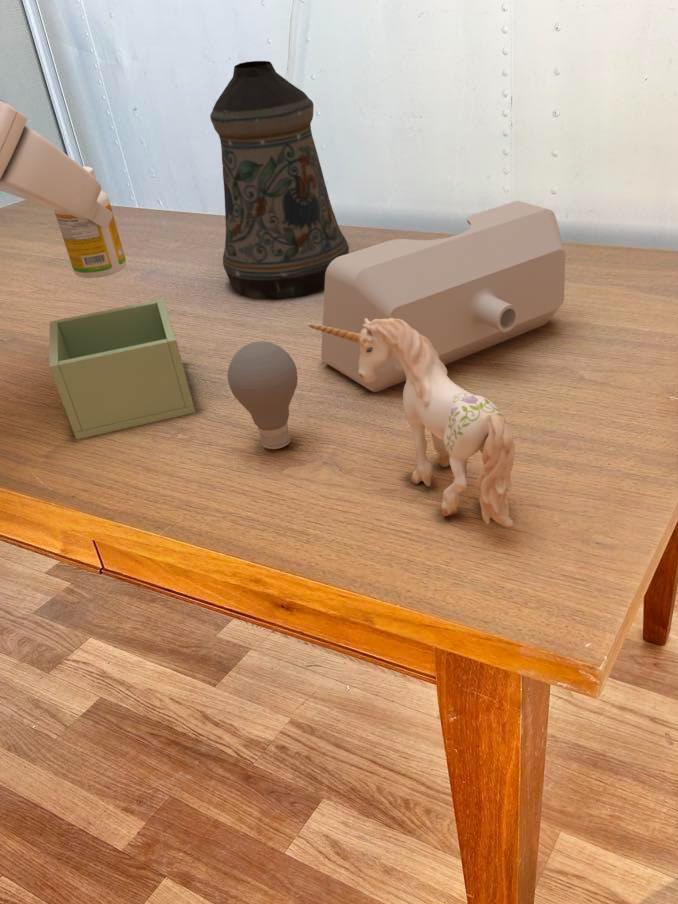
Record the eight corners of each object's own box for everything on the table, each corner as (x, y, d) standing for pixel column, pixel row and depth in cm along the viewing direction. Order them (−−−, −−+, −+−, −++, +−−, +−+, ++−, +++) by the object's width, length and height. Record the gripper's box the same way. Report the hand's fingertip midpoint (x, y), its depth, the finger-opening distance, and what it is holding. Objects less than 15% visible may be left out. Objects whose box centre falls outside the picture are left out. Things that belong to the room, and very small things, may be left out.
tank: (407, 421, 79) (394, 292, 72) (320, 366, 90) (302, 249, 83) (598, 339, 90) (605, 219, 82) (500, 299, 101) (498, 190, 93)
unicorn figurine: (387, 434, 78) (371, 293, 70) (562, 508, 66) (568, 350, 58) (329, 468, 74) (306, 323, 66) (504, 553, 62) (502, 391, 54)
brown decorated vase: (286, 310, 103) (245, 82, 88) (189, 283, 114) (138, 75, 99) (376, 267, 113) (354, 54, 98) (279, 245, 124) (245, 50, 109)
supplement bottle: (105, 258, 91) (77, 162, 85) (138, 265, 88) (111, 166, 83) (64, 275, 88) (31, 176, 82) (96, 282, 85) (65, 181, 79)
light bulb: (232, 459, 76) (207, 357, 70) (263, 426, 81) (242, 327, 75) (291, 467, 74) (271, 362, 68) (319, 433, 79) (303, 332, 73)
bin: (76, 440, 82) (49, 366, 77) (74, 390, 91) (49, 321, 86) (195, 412, 84) (176, 339, 79) (181, 366, 93) (163, 298, 88)
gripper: (-99, 150, 81) (33, 226, 92) (-14, 178, 68) (127, 262, 79) (-71, 89, 80) (58, 173, 91) (19, 106, 68) (156, 201, 79)
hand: (91, 215), depth 85 cm, fingers closed on supplement bottle, 5 cm apart
